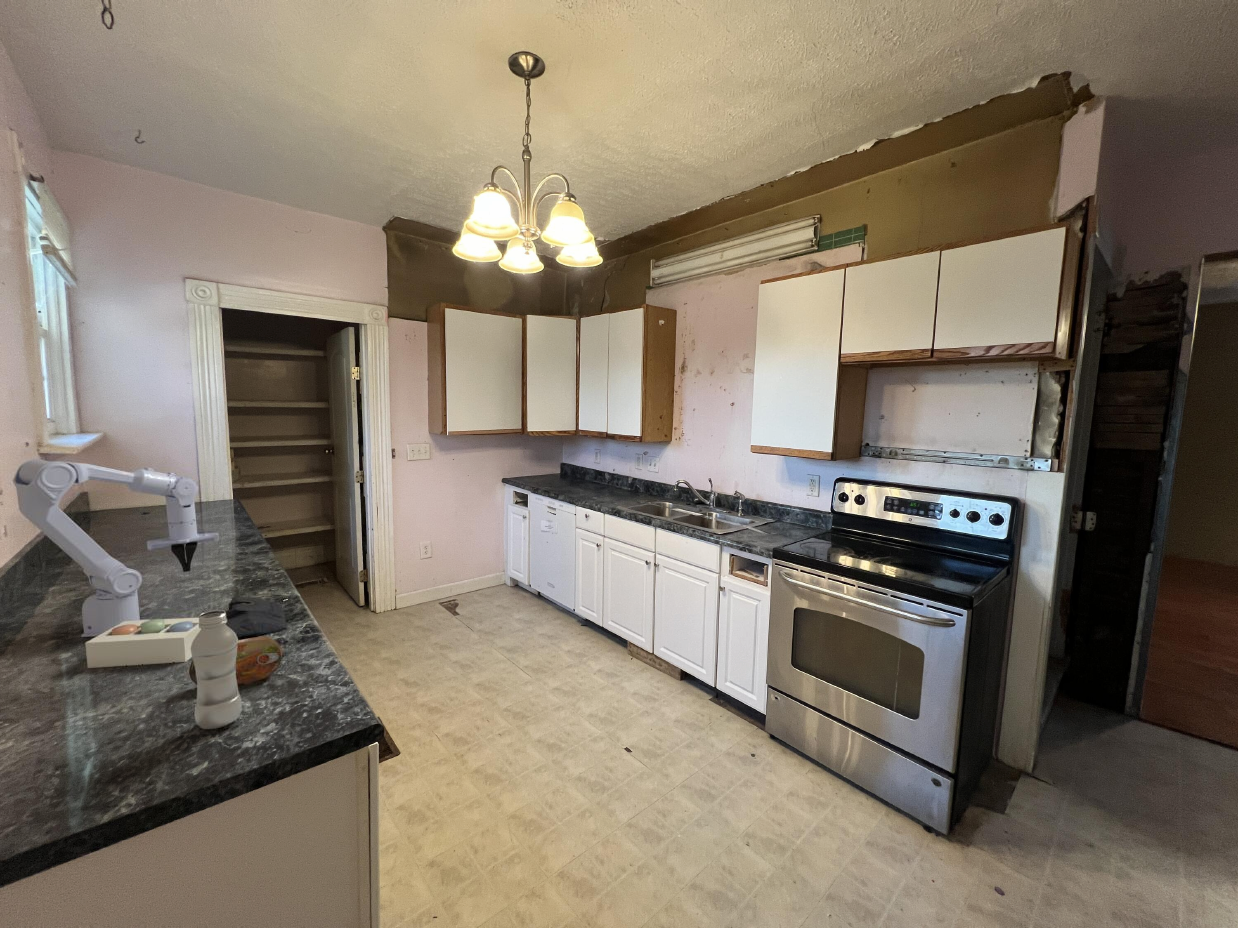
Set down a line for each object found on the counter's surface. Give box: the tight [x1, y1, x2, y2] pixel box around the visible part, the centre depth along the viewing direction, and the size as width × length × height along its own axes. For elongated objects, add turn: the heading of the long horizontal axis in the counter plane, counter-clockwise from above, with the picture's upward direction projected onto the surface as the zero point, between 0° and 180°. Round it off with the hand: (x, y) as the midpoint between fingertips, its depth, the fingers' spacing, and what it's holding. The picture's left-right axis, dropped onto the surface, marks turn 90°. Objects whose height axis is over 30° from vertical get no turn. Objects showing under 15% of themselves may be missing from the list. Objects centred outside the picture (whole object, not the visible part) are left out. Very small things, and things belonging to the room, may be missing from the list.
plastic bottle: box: [191, 609, 243, 730], centre depth 91 cm, size 6×7×20 cm
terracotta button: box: [111, 624, 137, 636], centre depth 115 cm, size 4×4×3 cm
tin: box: [188, 636, 283, 686], centre depth 105 cm, size 15×3×8 cm, turn 117°
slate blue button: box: [169, 621, 193, 632], centre depth 117 cm, size 4×4×3 cm
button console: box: [84, 617, 201, 669], centre depth 116 cm, size 18×11×6 cm, turn 101°
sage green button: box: [140, 618, 165, 634], centre depth 116 cm, size 4×4×3 cm
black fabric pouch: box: [224, 596, 288, 638], centre depth 133 cm, size 15×22×5 cm
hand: (187, 570), depth 140 cm, fingers closed
